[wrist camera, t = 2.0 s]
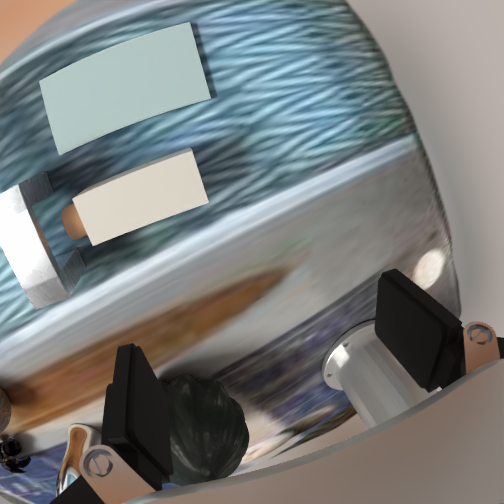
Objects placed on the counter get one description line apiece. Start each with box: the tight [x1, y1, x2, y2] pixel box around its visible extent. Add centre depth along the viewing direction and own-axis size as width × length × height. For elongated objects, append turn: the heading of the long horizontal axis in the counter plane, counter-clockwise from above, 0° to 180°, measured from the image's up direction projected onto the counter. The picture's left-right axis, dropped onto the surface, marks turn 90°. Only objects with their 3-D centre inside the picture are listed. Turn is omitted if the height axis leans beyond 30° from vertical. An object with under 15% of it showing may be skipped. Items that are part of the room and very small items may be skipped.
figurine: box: [0, 438, 31, 473], centre depth 32 cm, size 9×8×15 cm
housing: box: [0, 172, 86, 310], centre depth 22 cm, size 4×10×6 cm, turn 14°
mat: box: [40, 22, 211, 156], centre depth 21 cm, size 14×8×1 cm, turn 104°
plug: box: [62, 147, 209, 246], centre depth 23 cm, size 12×4×4 cm, turn 105°
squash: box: [159, 374, 249, 486], centre depth 31 cm, size 14×15×15 cm
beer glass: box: [55, 424, 102, 498], centre depth 29 cm, size 7×7×15 cm
